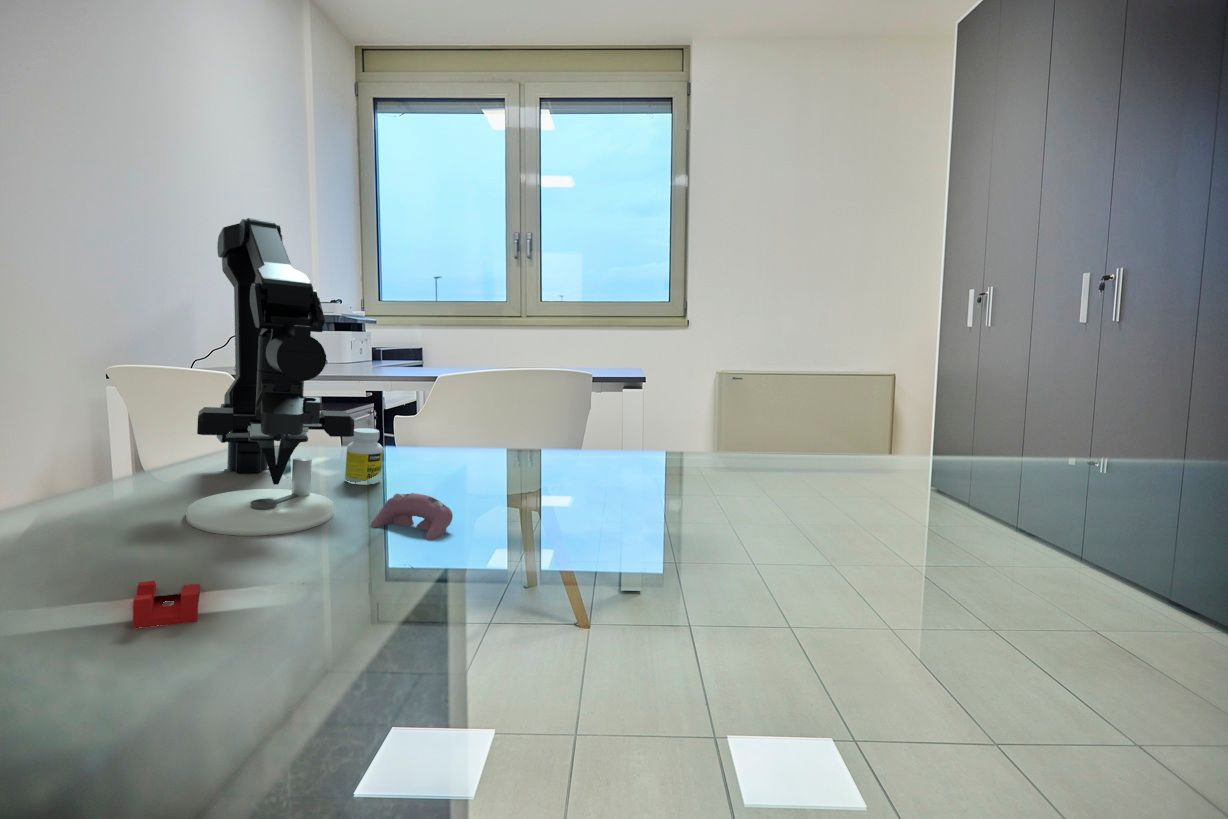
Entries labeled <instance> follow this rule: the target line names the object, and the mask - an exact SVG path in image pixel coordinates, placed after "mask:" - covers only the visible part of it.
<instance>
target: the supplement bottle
mask: <svg viewBox="0 0 1228 819" xmlns="http://www.w3.org/2000/svg"><path fill="white" fill-rule="evenodd" d="M352 440H353V441H352V442H350V443H348V445H347V448H346V457H345V458H346V459H345V474H344V480H345V479H346V480H347V481H350V482H355V483H356V482H361V481H366V480H368V479H370V478H372V477H374V476H376V475H377V474H379V473H380V472H381V473H382V467H383V466H382V464H383V455H384V454H383V453H384V452H383V450H384V447H383V446H382V445H381V443H379V442H378V441H379V440H380V430H379V429H377V428H376V429H375V428H370V427H366V428H365V427H360V428H354V436H352Z"/></svg>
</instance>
